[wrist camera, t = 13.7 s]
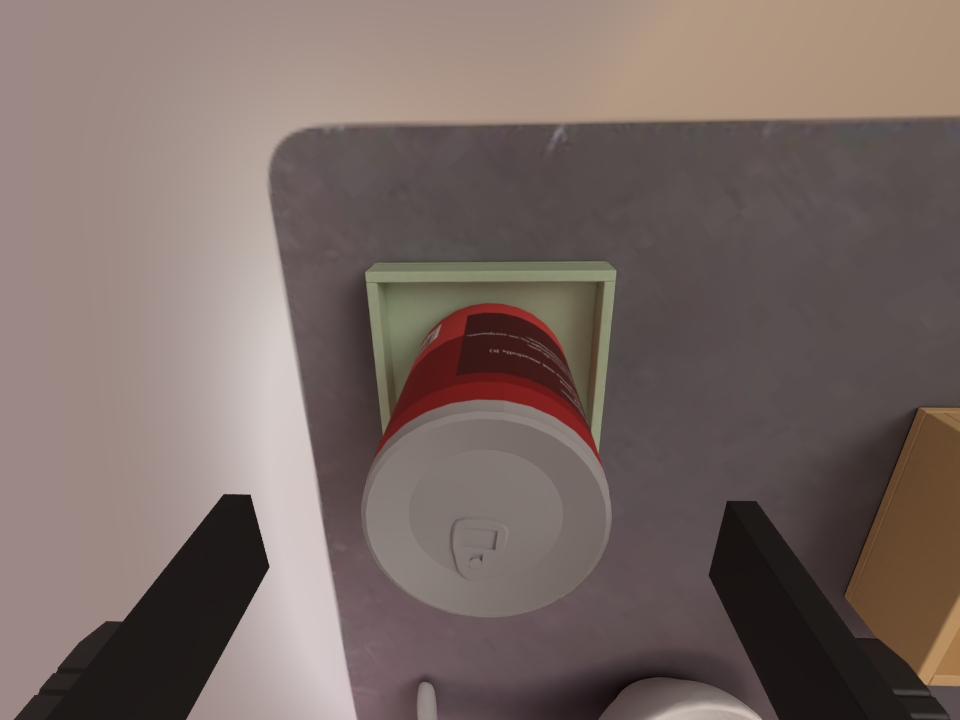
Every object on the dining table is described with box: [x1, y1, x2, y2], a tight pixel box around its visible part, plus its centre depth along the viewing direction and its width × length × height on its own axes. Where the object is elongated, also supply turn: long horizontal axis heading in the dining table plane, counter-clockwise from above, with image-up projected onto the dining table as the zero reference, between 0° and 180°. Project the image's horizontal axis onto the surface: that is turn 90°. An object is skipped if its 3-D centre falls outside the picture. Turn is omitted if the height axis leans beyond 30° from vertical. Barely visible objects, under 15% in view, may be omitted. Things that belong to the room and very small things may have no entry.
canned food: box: [361, 303, 612, 618], centre depth 19 cm, size 8×8×11 cm
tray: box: [365, 261, 616, 453], centre depth 24 cm, size 11×11×2 cm
